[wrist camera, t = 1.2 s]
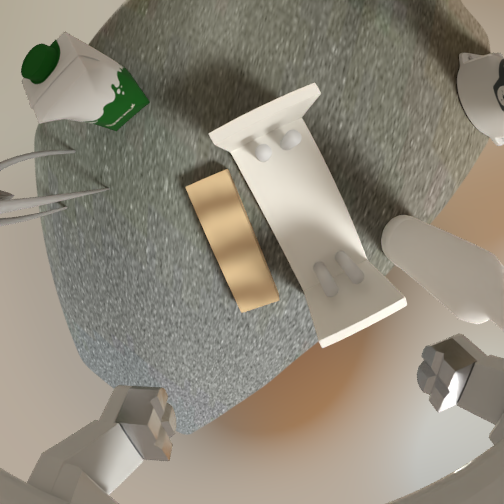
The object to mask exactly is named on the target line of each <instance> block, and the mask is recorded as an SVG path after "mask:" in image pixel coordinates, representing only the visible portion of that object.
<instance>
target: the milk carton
mask: <svg viewBox="0 0 504 504" xmlns="http://www.w3.org/2000/svg"><path fill="white" fill-rule="evenodd" d="M21 73H22V76H23V77H24V78H23V80H22V83H23V86H24V89H25V91H26V95H27V97H28V100H29V104H30V106H31V108H32V109H33V110H34V112H35V115H36V117H37V119H38V122H39V123H44V122H49V121H54V120H60V119H68V120H74V121H80V122H86V123H91V124H96V125H99V126H102V127H105V128H108V129H112V130H115V131H117V130H118V129H119V128H120V127H121V126H123V125H124V124H125V123H126V122H127V121H128V120H129V119H130V118H132V117H133V116H134V115H135V114H136V113H137V112H139V111H140V110H141V109H142V108H143V107H145V106H146V105H147V104H148V103H150V101H149V100H148V99H147V97H146V96H145V94H144V93H143V91H142V90H141V88H140V87H139V86H138V84H137V83H136V81H135V80H134V78H133V77H132V75H131V74H130V73H129V72H128V70H127V69H126V68H125V67H123V66H122V65H120V64H119V63H117V62H116V61H114V60H112V59H111V58H109V57H108V56H106V55H104V54H103V53H101V52H99V51H98V50H96V49H94V48H93V47H91V46H89V45H87V44H86V43H84V42H82V41H80V40H79V39H77V38H75V37H73V36H71V35H70V34H68V33H67V32H64V33H63V34H62V35H61V36H60V37H59V38H58V39H57V40H55V41H54V42H53V43H52V44H51V46H47V45H45V44H39V45H36V46H35V47H33V48H32V49H31V50H30V51H29V53H28V54H27V56H26V57H25V59H24V61H23V64H22V69H21Z"/></svg>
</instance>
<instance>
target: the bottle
mask: <svg viewBox="0 0 504 504" xmlns="http://www.w3.org/2000/svg"><path fill="white" fill-rule="evenodd" d="M381 246H382V250H383V252H384V254H385V256H386V257H387V258H388V259H389V260H390V261H391V262H393V263H394V264H395V265H396V266H398V267H400V268H401V269H402V270H403V271H404V272H406V273H407V274H408V275H409V276H411V277H412V278H413V279H414V280H415V281H416V282H418V283H419V284H420V285H421V286H422V287H423V288H425V289H426V290H427V291H428V292H429V293H430V294H431V295H433V296H434V297H435V298H436V299H437V300H438V301H440V303H442V304H443V305H444V306H445V307H446V308H447V309H448V310H449V311H450V312H451V313H453V314H454V315H455V316H456V317H457V318H458V319H460V320H463V321H466V322H470V323H475V324H480V323H483V322H486V321H488V320H491V321H492V322H494V323H495V324H496V325H497V326H498V327H499V328H500V329H502V330H503V331H504V267H503V265H502V264H501V262H500V261H499V259H498V258H497V257H496V256H495V255H494V254H493V253H491V252H489V251H487V250H485V249H483V248H481V247H479V246H477V245H475V244H473V243H471V242H468V241H466V240H464V239H462V238H460V237H457V236H455V235H453V234H451V233H449V232H446V231H444V230H442V229H439V228H437V227H435V226H432V225H430V224H428V223H425V222H423V221H422V220H420V219H417V218H415V217H412V216H408V215H398V216H396V217H394V218H392V219H391V220H390V221H389V222H388V223H387V224H386V226H385V228H384V230H383V232H382V237H381Z"/></svg>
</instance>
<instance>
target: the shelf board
mask: <svg viewBox="0 0 504 504" xmlns="http://www.w3.org/2000/svg"><path fill="white" fill-rule="evenodd" d="M185 188H186V190H187V192H188V195H189V197H190V199H191V202H192V204H193V206H194V209H195V211H196V213H197V216H198V218H199V220H200V223H201V225H202V227H203V229H204V232H205V234H206V236H207V239H208V241H209V243H210V245H211V248H212V250H213V252H214V254H215V256H216V259H217V261H218V263H219V265H220V268H221V270H222V272H223V274H224V276H225V278H226V281H227V283H228V285H229V287H230V289H231V291H232V294H233V296H234V298H235V300H236V302H237V304H238V306H239V309H240V311H241V313H243V312H246V311H249V310H252V309H255V308H258V307H261V306H264V305H267V304H270V303H273V302H276V301H279V293H278V290H277V288H276V285H275V283H274V280H273V278H272V275H271V273H270V270H269V268H268V265H267V263H266V260H265V258H264V255H263V253H262V250H261V248H260V245H259V243H258V240H257V238H256V235H255V233H254V231H253V228H252V226H251V223H250V221H249V218H248V216H247V213H246V211H245V208H244V206H243V203H242V201H241V199H240V196H239V194H238V191H237V189H236V186H235V184H234V182H233V179H232V177H231V174H230V172H229V169H226V170H223V171H221V172H218V173H216V174H214V175H211V176H209V177H207V178H204V179H202V180H200V181H198V182H195V183H193V184H191V185H189V186H187V187H185Z"/></svg>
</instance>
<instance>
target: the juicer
mask: <svg viewBox="0 0 504 504" xmlns="http://www.w3.org/2000/svg"><path fill="white" fill-rule="evenodd" d="M65 153H75V150H48V151H39V152H32V153H28V154H24V155H20V156H16V157H13V158H10V159H7V160H5V161H2V162H0V171H1V170H2V169H4V168H6V167H8V166H10V165H12V164H15V163H18V162H20V161H23V160H27V159H31V158H36V157H41V156H47V155H54V154H65ZM105 190H109V188H103V189H96V190H89V191H82V192H74V193H66V194H58V195H50V196H41V197H33V198H22V199H12V200H10V199H11V198H12V197H13V196H14V195H12V194H10V193H8V192H4V191H1V190H0V214H1V213H6V212H11V211H16V210H21V209H25V208H31V207H35V206H40V205H45V204H49V203H53V202H58V201H63V200H67V199H71V198H76V197H80V196H84V195H88V194H92V193H97V192H101V191H105ZM64 209H67V207H63V208H58V209H54V210H50V211H46V212H41V213H37V214H31V215H25V216H19V217H12V218H0V226H3V225H9V224H14V223H19V222H23V221H27V220H31V219H34V218H38V217H41V216H45V215H48V214H51V213H55V212H58V211H61V210H64Z"/></svg>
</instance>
